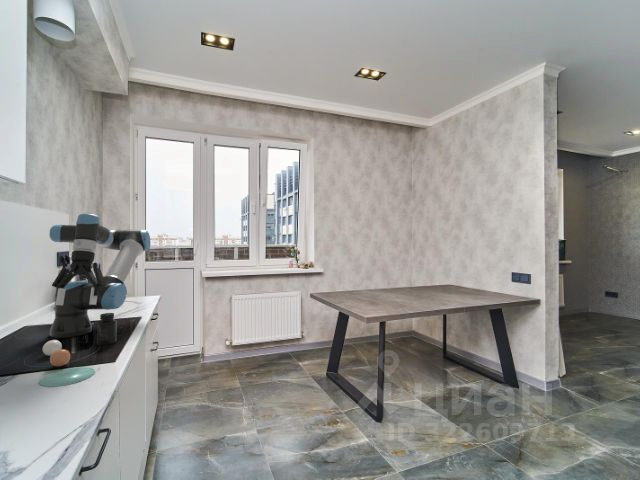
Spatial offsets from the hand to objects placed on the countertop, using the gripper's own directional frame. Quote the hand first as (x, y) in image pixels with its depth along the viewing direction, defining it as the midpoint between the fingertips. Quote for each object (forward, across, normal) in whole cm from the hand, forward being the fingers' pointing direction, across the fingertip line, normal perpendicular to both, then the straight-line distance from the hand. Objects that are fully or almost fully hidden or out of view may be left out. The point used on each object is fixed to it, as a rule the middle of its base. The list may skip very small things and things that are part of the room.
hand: (75, 305), depth 128 cm
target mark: (+23, +17, -19) cm, 34 cm away
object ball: (+18, +7, -12) cm, 23 cm away
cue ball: (+16, -3, -4) cm, 16 cm away
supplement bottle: (+15, +6, +12) cm, 20 cm away
